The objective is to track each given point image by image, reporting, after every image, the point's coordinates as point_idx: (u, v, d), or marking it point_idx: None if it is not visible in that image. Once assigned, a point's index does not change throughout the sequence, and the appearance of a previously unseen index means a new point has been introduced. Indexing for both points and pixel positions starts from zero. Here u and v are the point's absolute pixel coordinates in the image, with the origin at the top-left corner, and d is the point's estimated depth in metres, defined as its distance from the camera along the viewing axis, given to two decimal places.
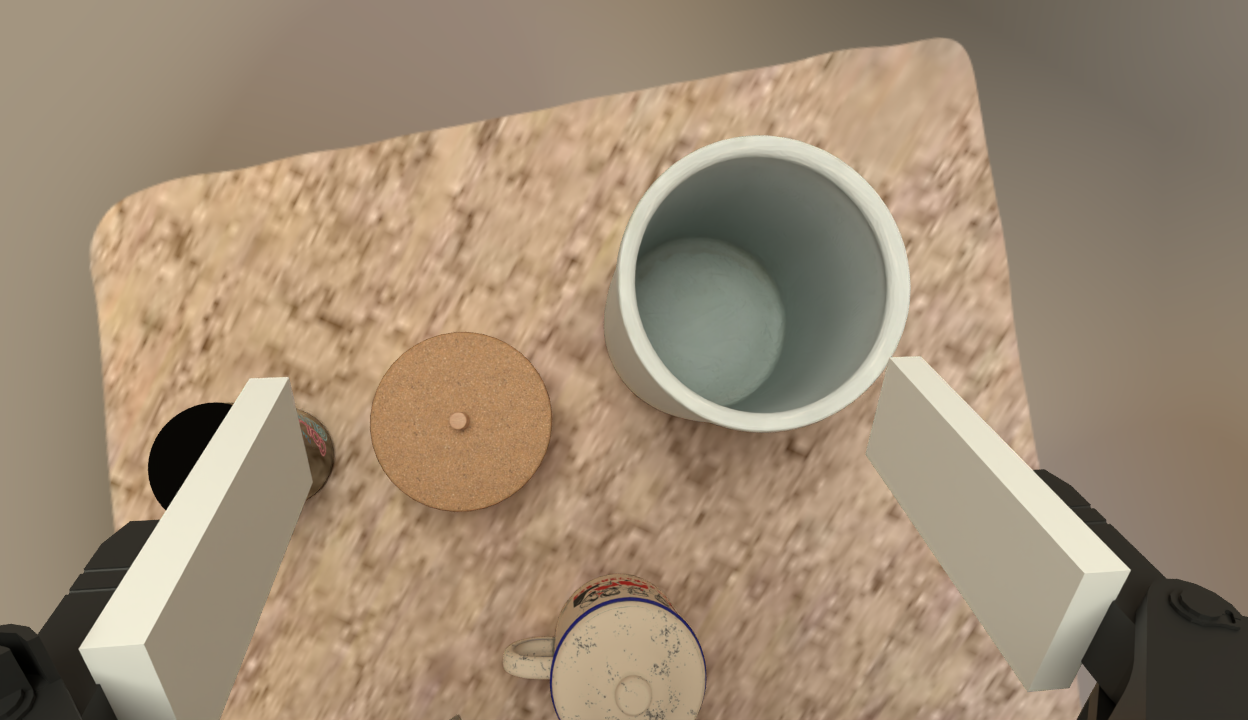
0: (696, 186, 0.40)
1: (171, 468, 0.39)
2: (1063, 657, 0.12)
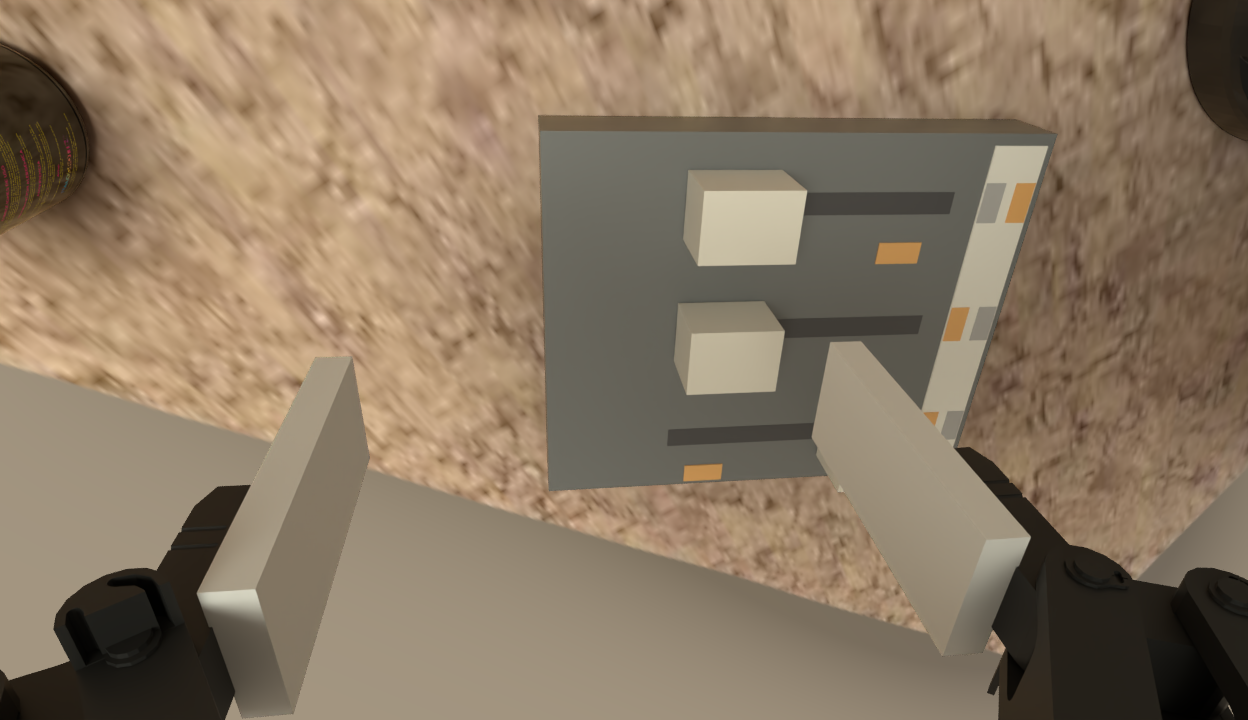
0: None
1: None
2: (974, 623, 0.12)
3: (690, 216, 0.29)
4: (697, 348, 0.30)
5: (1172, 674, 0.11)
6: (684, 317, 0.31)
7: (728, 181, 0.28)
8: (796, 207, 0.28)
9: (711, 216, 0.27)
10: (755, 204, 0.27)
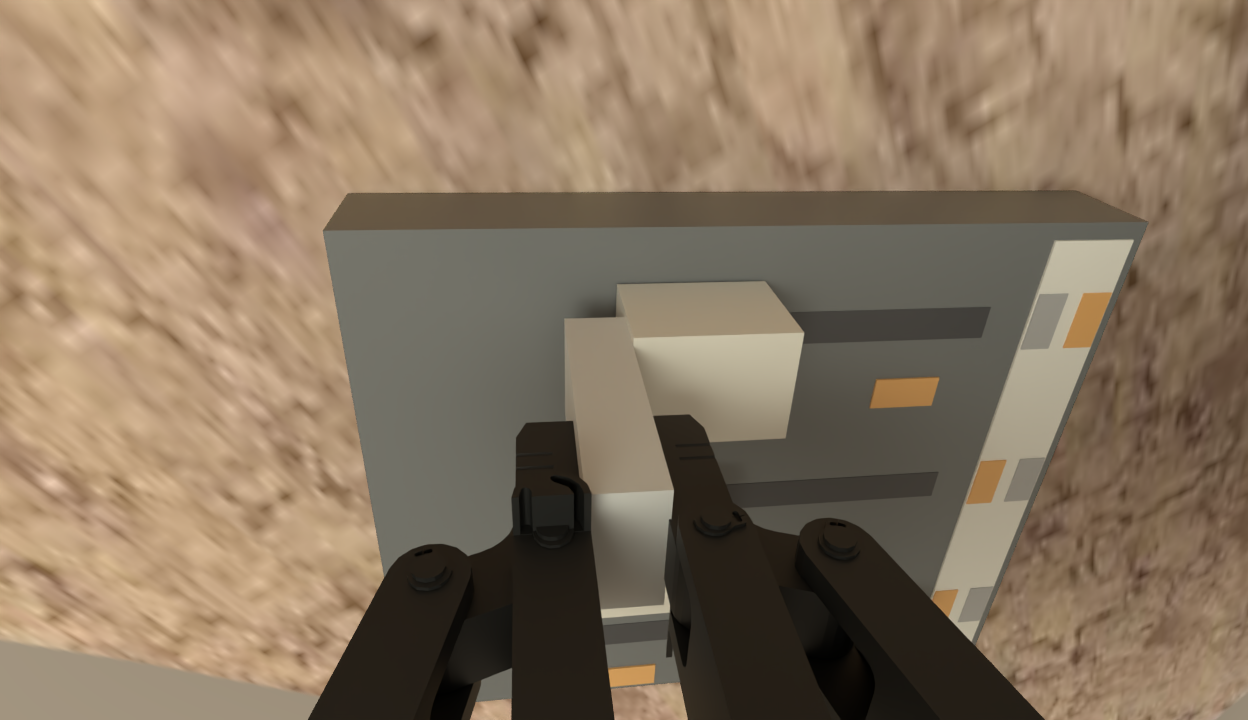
0: None
1: None
2: (645, 574, 0.13)
3: None
4: None
5: None
6: None
7: (677, 312, 0.17)
8: (786, 357, 0.17)
9: (648, 374, 0.17)
10: (719, 355, 0.17)
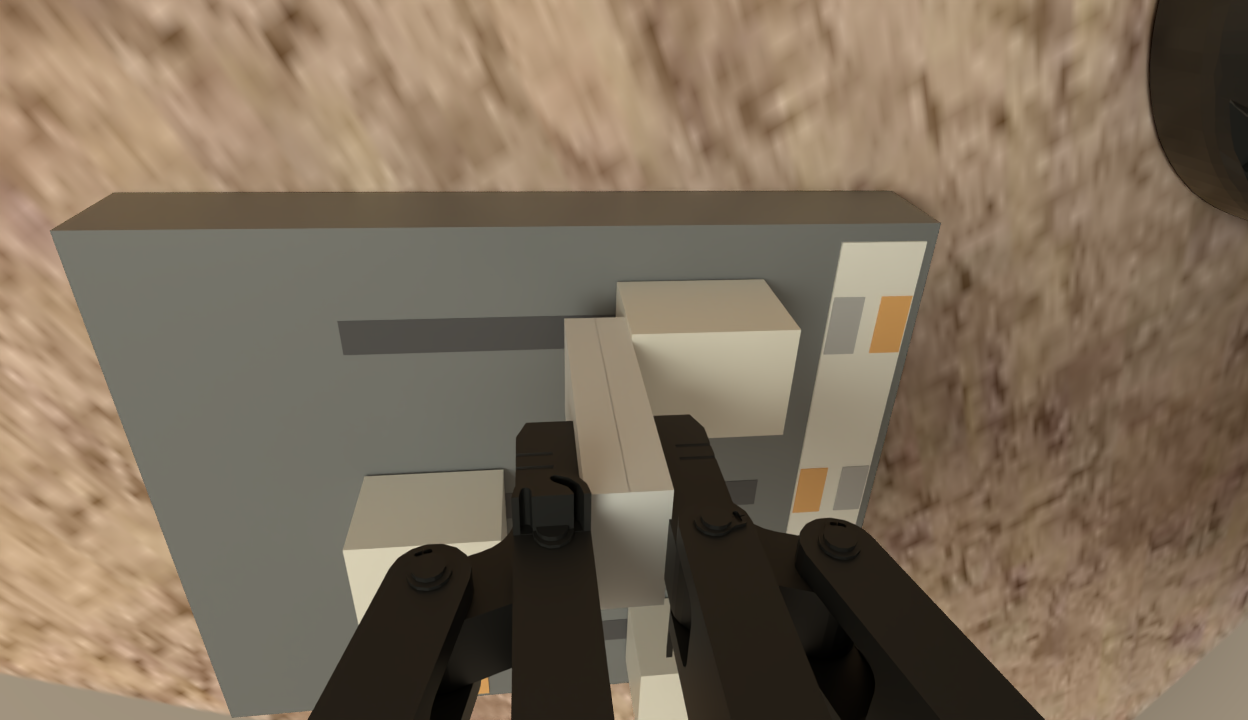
0: None
1: None
2: (644, 574, 0.13)
3: None
4: (359, 569, 0.19)
5: None
6: (355, 508, 0.20)
7: (675, 309, 0.18)
8: (783, 355, 0.17)
9: (646, 370, 0.17)
10: (716, 352, 0.17)
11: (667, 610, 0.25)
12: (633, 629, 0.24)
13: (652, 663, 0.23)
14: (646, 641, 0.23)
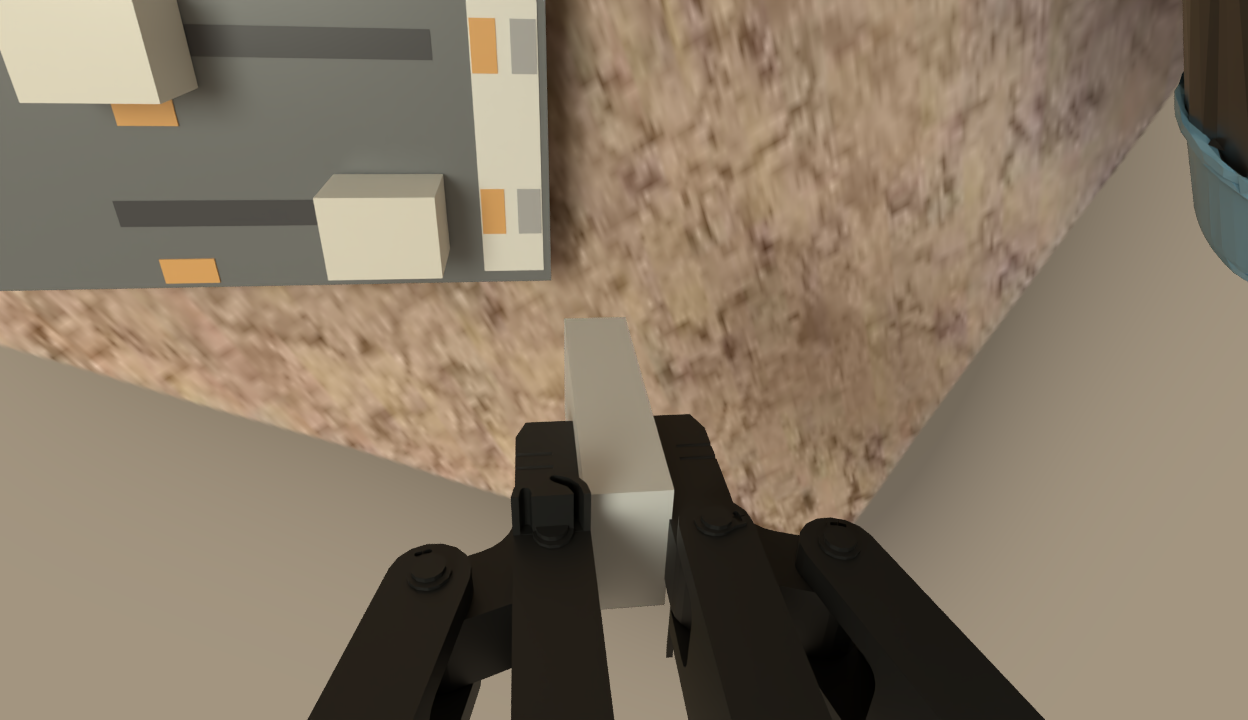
0: None
1: None
2: (645, 574, 0.13)
3: None
4: None
5: None
6: None
7: None
8: None
9: None
10: None
11: (366, 177, 0.27)
12: (326, 184, 0.26)
13: (328, 194, 0.25)
14: (332, 187, 0.25)
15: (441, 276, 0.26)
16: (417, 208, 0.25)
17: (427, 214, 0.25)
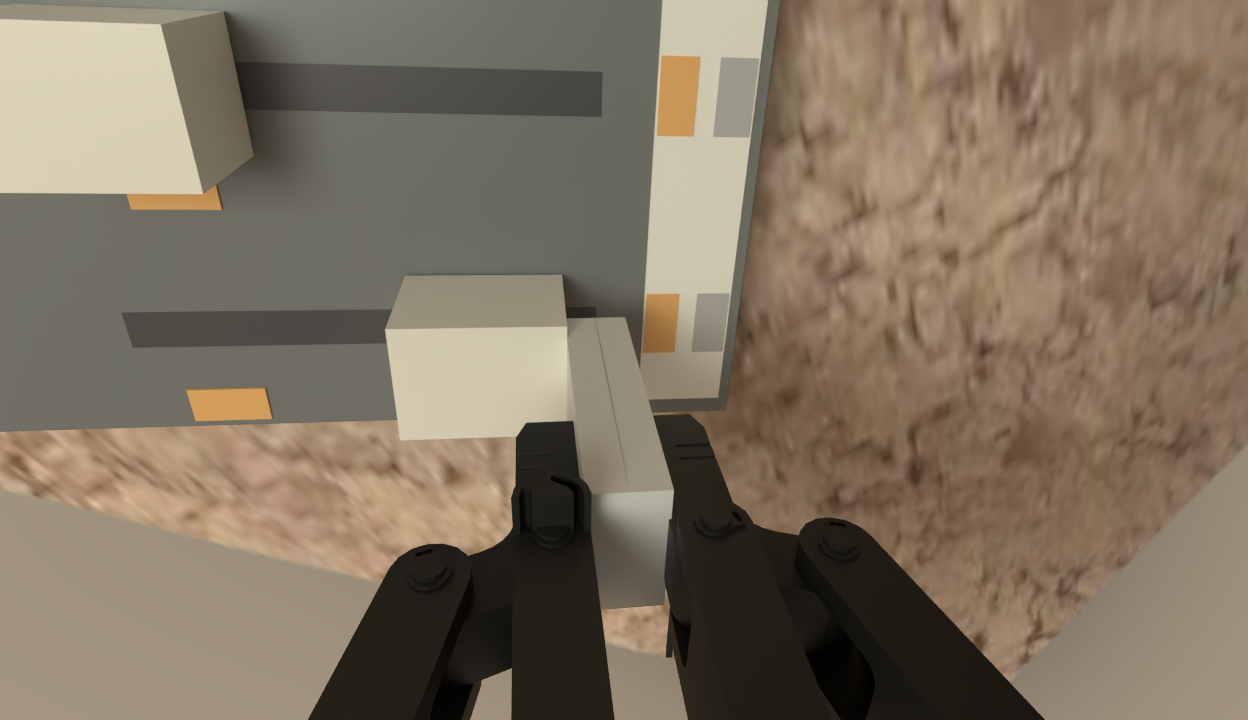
0: None
1: None
2: (645, 574, 0.13)
3: None
4: None
5: None
6: None
7: None
8: None
9: None
10: None
11: (454, 283, 0.18)
12: (399, 296, 0.17)
13: (407, 319, 0.16)
14: (409, 304, 0.17)
15: None
16: (539, 342, 0.16)
17: (554, 350, 0.17)
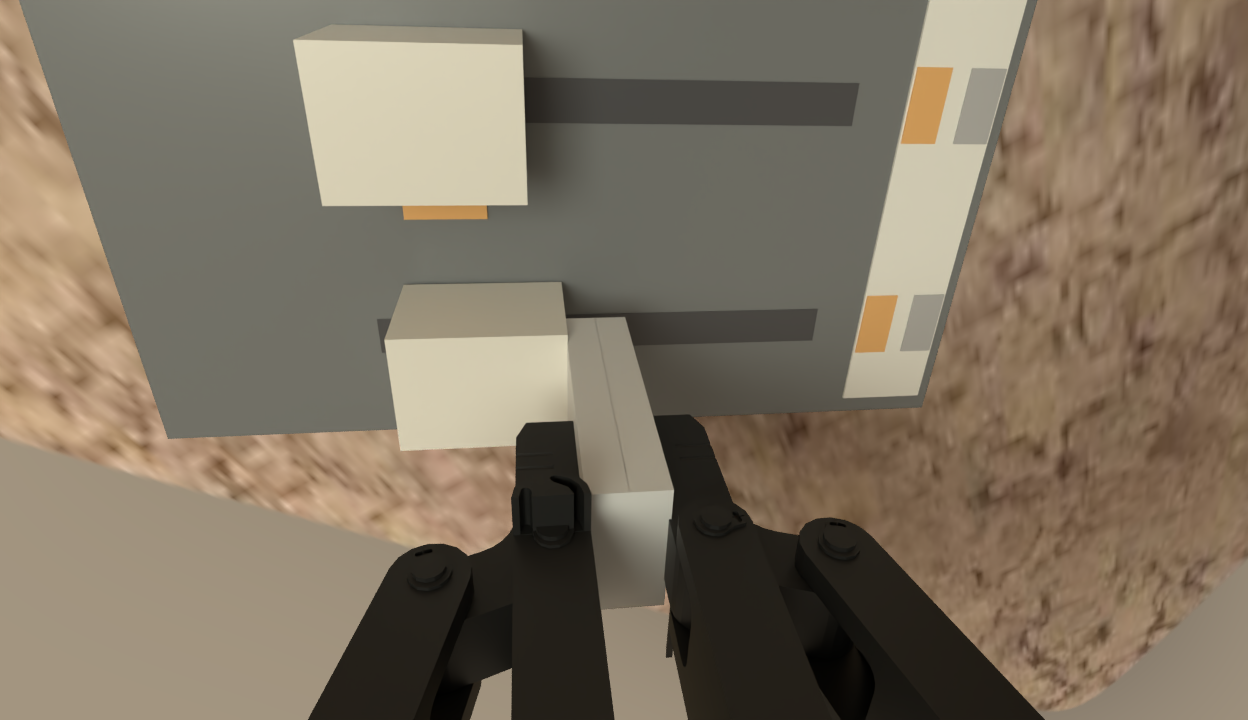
0: None
1: None
2: (645, 574, 0.13)
3: None
4: (317, 81, 0.13)
5: None
6: None
7: None
8: None
9: None
10: None
11: (453, 292, 0.18)
12: (397, 306, 0.17)
13: (406, 330, 0.16)
14: (408, 314, 0.17)
15: None
16: (540, 350, 0.16)
17: (555, 358, 0.16)
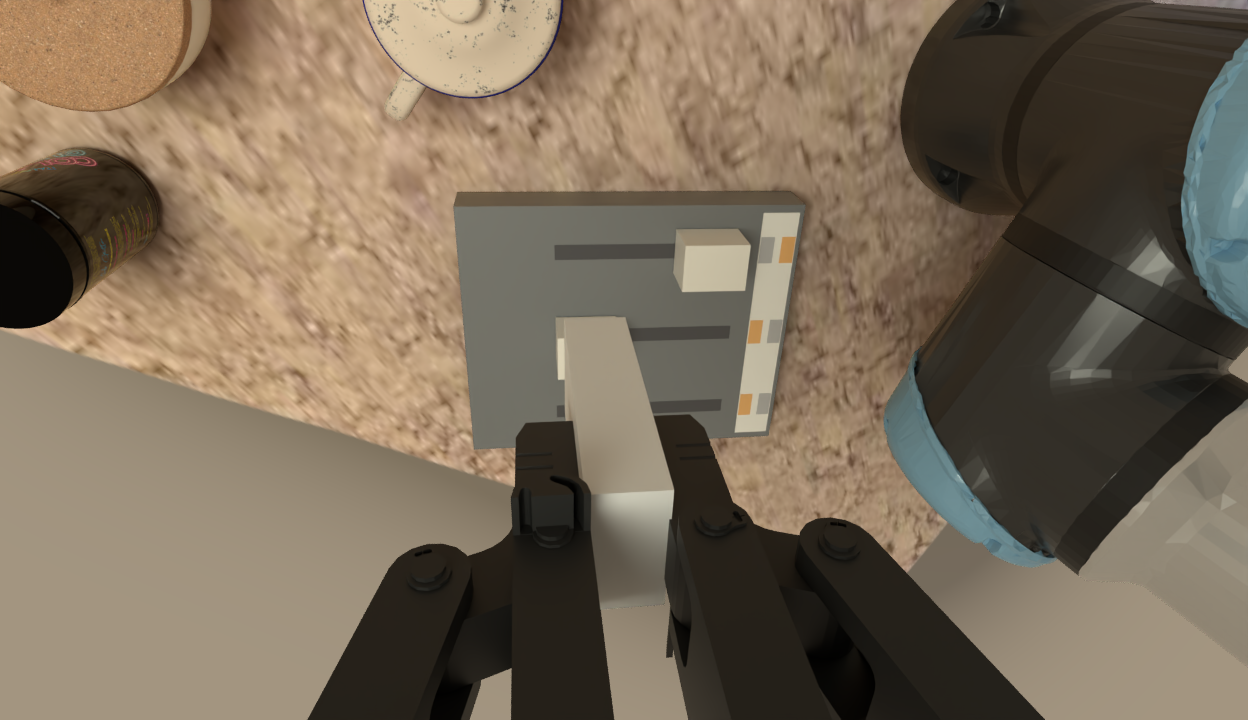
0: None
1: None
2: (645, 574, 0.13)
3: (677, 259, 0.45)
4: (562, 348, 0.45)
5: None
6: (556, 327, 0.46)
7: (701, 238, 0.44)
8: (744, 255, 0.44)
9: (690, 261, 0.43)
10: (717, 253, 0.43)
11: None
12: None
13: None
14: None
15: None
16: None
17: None
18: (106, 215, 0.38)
